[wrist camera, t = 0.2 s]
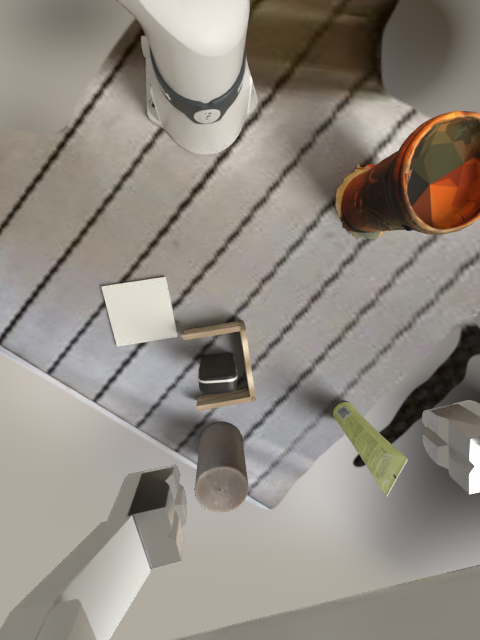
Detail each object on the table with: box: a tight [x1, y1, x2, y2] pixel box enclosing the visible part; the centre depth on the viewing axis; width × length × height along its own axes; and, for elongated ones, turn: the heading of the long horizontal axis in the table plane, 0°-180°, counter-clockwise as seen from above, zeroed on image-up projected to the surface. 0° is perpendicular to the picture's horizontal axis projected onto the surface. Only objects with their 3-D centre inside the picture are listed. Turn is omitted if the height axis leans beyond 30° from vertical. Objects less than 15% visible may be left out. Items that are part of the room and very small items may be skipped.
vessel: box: [335, 111, 480, 239], centre depth 44 cm, size 14×14×20 cm
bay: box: [182, 321, 256, 411], centre depth 56 cm, size 16×12×4 cm
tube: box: [333, 402, 408, 496], centre depth 54 cm, size 6×5×20 cm
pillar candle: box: [194, 422, 248, 512], centre depth 55 cm, size 10×10×15 cm
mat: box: [102, 277, 178, 347], centre depth 54 cm, size 12×12×1 cm
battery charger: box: [198, 353, 237, 394], centre depth 53 cm, size 7×4×11 cm, turn 92°
